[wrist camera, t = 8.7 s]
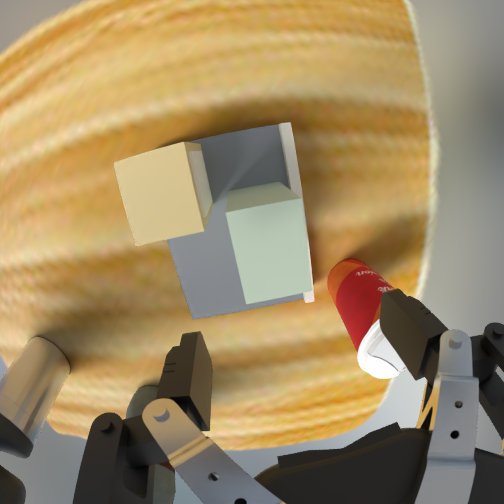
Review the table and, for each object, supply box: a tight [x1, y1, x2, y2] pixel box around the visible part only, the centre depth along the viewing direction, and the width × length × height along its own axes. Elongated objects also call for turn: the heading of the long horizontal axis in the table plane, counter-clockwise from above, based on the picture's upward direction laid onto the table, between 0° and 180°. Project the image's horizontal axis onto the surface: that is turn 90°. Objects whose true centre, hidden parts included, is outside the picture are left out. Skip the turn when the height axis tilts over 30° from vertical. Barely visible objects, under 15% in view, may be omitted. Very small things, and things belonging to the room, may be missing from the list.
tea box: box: [226, 182, 312, 304], centre depth 23 cm, size 5×7×9 cm
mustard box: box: [113, 142, 213, 246], centre depth 21 cm, size 5×6×9 cm
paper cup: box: [327, 259, 407, 379], centre depth 26 cm, size 8×8×14 cm
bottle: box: [126, 386, 176, 504], centre depth 25 cm, size 9×9×30 cm
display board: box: [167, 122, 314, 319], centre depth 28 cm, size 14×19×3 cm
